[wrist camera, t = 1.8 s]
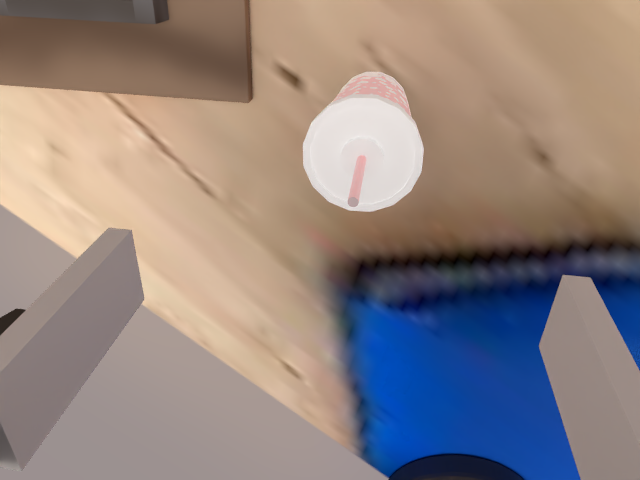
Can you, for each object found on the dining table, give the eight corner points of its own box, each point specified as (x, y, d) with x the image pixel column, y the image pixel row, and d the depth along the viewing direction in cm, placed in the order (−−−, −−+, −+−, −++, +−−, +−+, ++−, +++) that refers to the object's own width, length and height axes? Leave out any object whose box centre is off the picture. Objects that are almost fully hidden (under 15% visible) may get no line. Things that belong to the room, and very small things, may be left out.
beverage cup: (317, 68, 33) (265, 143, 21) (414, 49, 31) (418, 119, 19) (335, 157, 36) (299, 269, 24) (425, 144, 34) (434, 256, 22)
